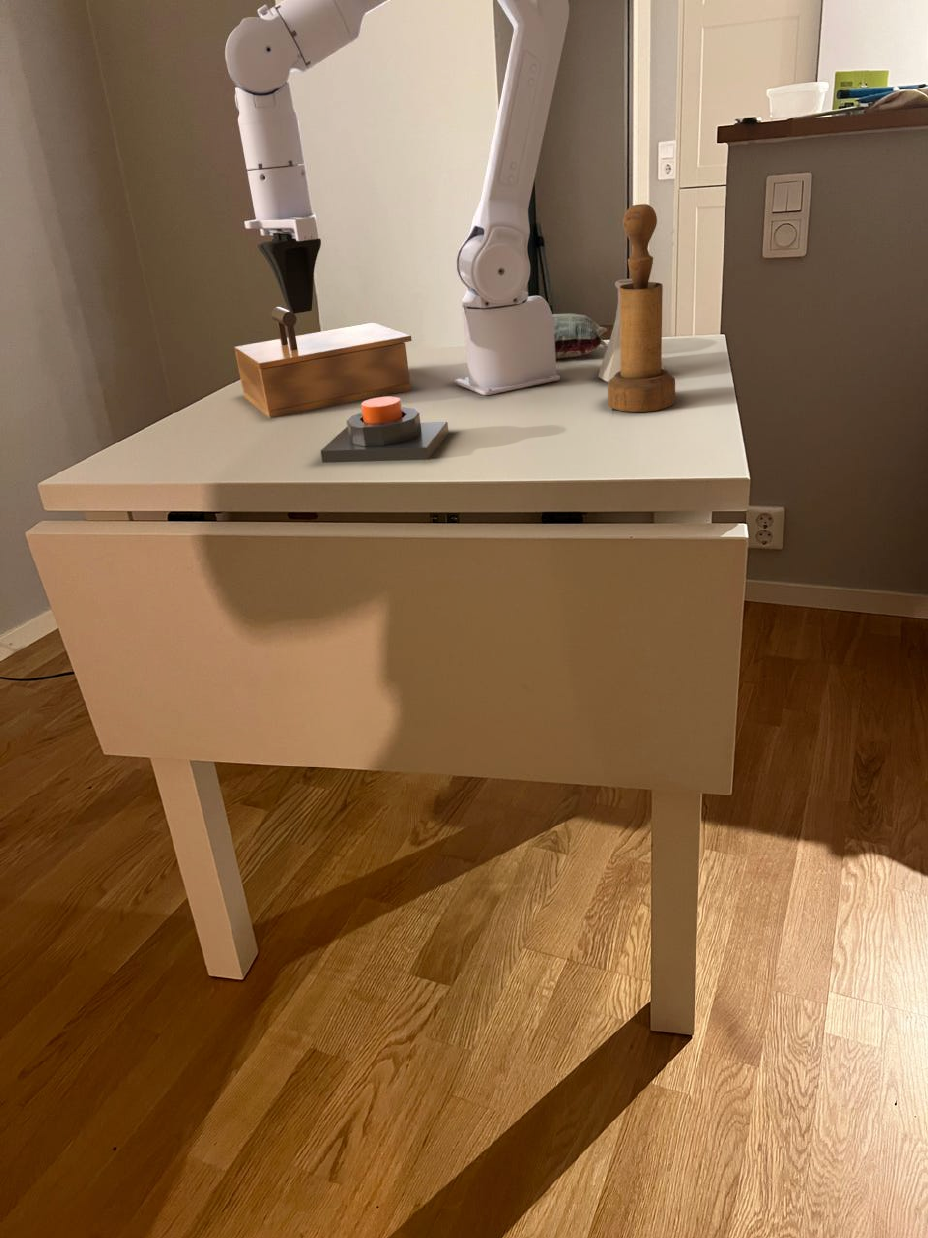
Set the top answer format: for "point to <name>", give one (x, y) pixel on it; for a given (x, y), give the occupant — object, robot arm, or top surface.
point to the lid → (315, 342)
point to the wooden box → (325, 380)
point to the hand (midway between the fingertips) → (300, 311)
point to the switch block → (386, 440)
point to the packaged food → (576, 335)
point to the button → (381, 410)
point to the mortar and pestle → (641, 326)
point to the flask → (614, 343)
